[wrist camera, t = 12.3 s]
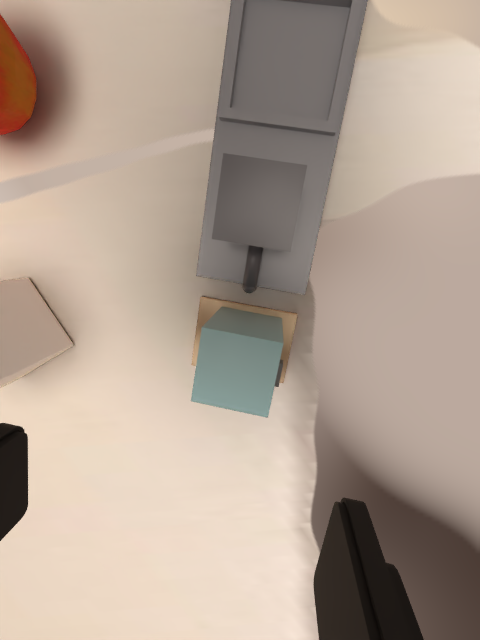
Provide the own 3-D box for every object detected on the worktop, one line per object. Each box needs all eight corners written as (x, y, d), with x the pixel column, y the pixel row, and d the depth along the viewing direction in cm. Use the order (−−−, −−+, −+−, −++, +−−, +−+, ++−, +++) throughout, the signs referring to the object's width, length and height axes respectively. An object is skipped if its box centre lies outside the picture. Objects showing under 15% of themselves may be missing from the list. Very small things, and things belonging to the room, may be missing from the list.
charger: (221, 306, 26) (201, 327, 19) (286, 318, 26) (289, 344, 19) (212, 362, 27) (190, 401, 20) (274, 375, 27) (273, 418, 20)
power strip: (256, -110, 20) (243, -330, 13) (383, -100, 20) (451, -324, 12) (204, 278, 26) (173, 291, 19) (300, 295, 26) (310, 316, 18)
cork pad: (202, 296, 27) (200, 297, 26) (297, 313, 26) (297, 315, 25) (193, 362, 28) (191, 365, 27) (283, 380, 27) (283, 383, 27)
